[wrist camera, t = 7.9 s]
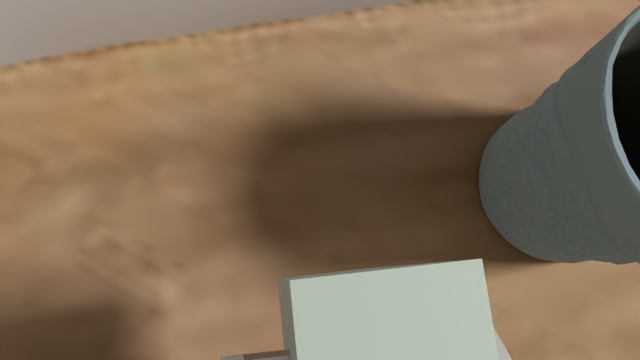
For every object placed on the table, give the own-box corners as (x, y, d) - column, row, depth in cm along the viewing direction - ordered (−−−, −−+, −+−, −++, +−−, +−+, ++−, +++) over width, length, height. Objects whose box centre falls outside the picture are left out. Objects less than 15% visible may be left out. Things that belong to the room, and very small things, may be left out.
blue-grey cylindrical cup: (436, 220, 27) (560, 179, 15) (504, 67, 29) (659, -75, 17) (603, 305, 27) (859, 328, 15) (659, 144, 29) (922, 55, 17)
